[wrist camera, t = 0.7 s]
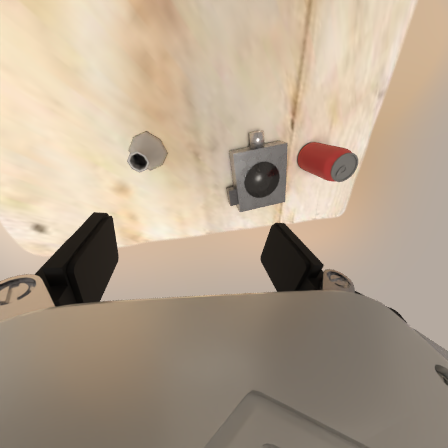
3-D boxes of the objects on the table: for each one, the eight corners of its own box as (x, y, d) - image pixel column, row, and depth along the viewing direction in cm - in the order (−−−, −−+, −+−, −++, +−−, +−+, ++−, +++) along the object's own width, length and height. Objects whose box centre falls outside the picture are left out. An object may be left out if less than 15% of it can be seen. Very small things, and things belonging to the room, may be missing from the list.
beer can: (291, 158, 44) (323, 171, 34) (312, 135, 42) (352, 141, 32) (305, 174, 47) (338, 190, 37) (325, 153, 45) (366, 165, 35)
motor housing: (218, 138, 38) (221, 140, 35) (279, 126, 40) (289, 127, 36) (228, 207, 48) (232, 214, 44) (278, 195, 49) (285, 202, 45)
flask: (145, 123, 35) (133, 126, 26) (173, 153, 38) (171, 164, 30) (121, 149, 36) (103, 160, 28) (151, 175, 40) (142, 191, 31)
